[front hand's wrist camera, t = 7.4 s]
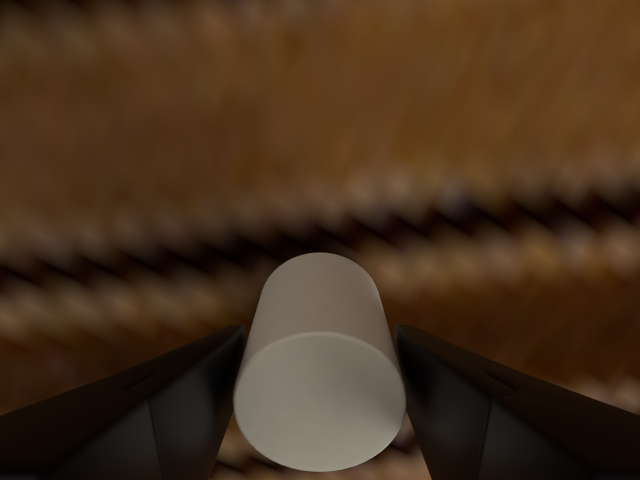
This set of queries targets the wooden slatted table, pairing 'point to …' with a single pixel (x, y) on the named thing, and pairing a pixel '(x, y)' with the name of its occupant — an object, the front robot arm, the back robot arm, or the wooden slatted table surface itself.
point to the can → (319, 368)
